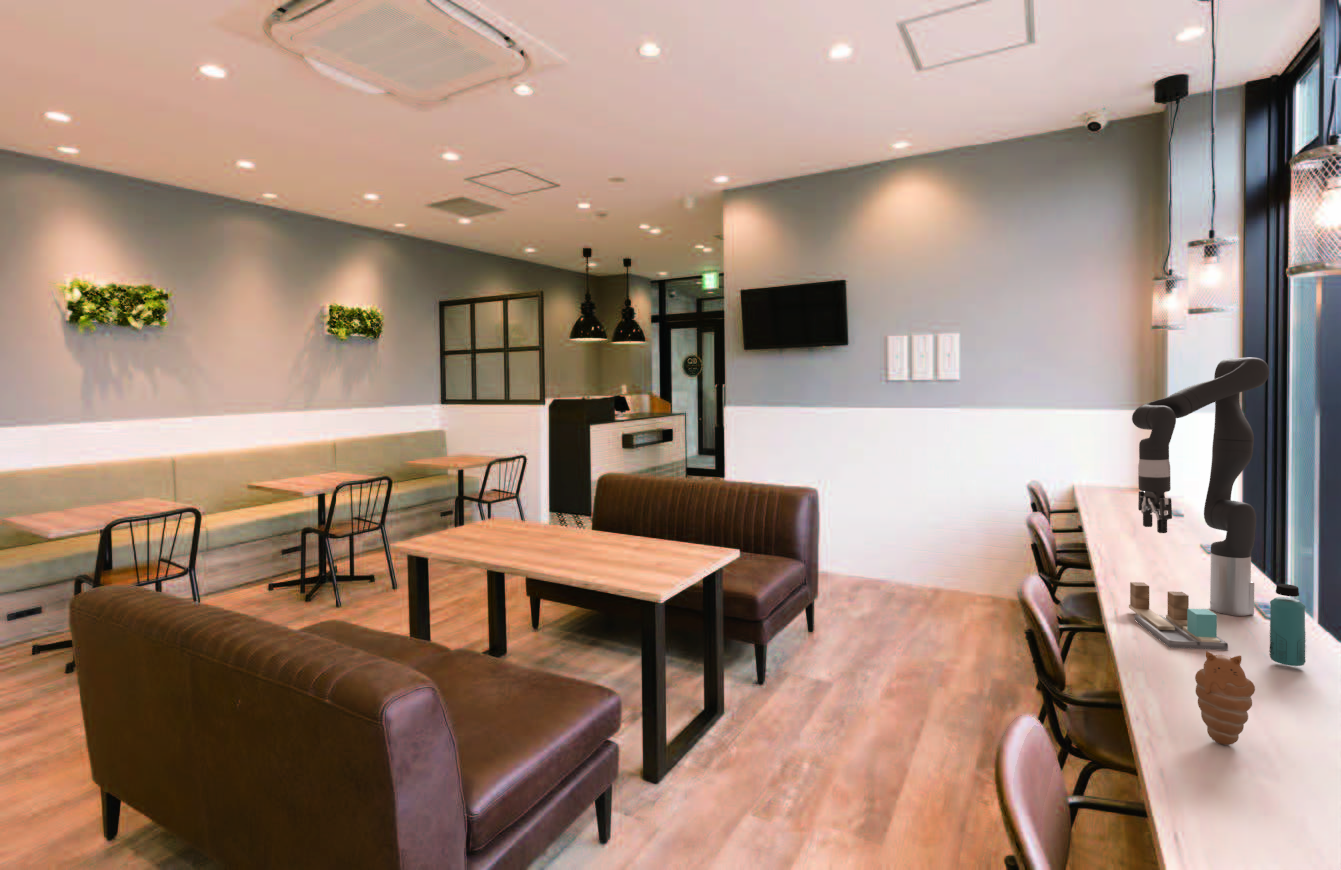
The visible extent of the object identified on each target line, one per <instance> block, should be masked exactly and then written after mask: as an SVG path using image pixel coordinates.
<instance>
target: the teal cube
mask: <svg viewBox="0 0 1341 870" xmlns="http://www.w3.org/2000/svg"><path fill="white" fill-rule="evenodd" d="M1217 627H1218V615H1217V614H1216V613H1215V612H1214V611H1212V610H1209V609H1206V608H1205V609H1204V608H1189V609H1187V631H1189V632H1190V633H1192V634H1193V635H1195V636H1196V637H1218V636H1217V635H1218V634H1217V632H1218V628H1217Z"/></svg>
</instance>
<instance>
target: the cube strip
mask: <svg viewBox="0 0 1341 870" xmlns="http://www.w3.org/2000/svg"><path fill="white" fill-rule="evenodd" d="M1129 589H1130V590H1129V591H1130V592H1129V593H1130V595H1129V597H1130V598H1129V599H1130V600H1129V603H1130V604H1128V608H1129V609H1130V610H1131V611H1133V612H1134V613H1135V614H1138V615H1139V616H1140V617H1142V618H1143V619H1145V620H1146V621H1147V622H1149V623H1150V624H1151V625H1153V626H1154V627H1155V628H1157V629H1158V630H1175V626H1173V625H1172V624H1170V623H1169V622H1167V621H1166V620H1165V619H1163V618H1162V617H1160V616H1159V615H1160V614H1158V613H1156V612H1155V611H1153V610H1152V609H1150V585H1149V584H1147V583H1146V582H1140V581H1139V582H1138V581H1137V582H1136V581H1135V582H1132V581H1130V583H1129Z"/></svg>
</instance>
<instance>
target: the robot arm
mask: <svg viewBox="0 0 1341 870" xmlns="http://www.w3.org/2000/svg"><path fill="white" fill-rule="evenodd" d="M1269 375H1270V369H1269V365H1268V363H1267V362H1266V361H1265V360H1263V359H1262V358H1259V357H1251V356H1250V357H1235V358H1234V357H1232V358H1226V359H1223V360H1221V361H1220V362H1219V363H1218V364H1217V366H1216V367H1215V371H1214V378H1213V379H1211V380H1207V381H1203V382H1199V383H1197V384H1192V385H1191V386H1187V387H1185V388H1183V389H1181V390H1179V391H1177V392H1174V393H1173V394H1170V395H1168V396H1167V397H1164V398H1160V399H1156V400H1153V401H1150V402H1147V403H1145V404H1142V405H1140V406H1139V407H1137V408H1136V409H1135V410H1134V411H1133V413H1132V415H1131V421H1132V423H1133V425H1134V426H1135V427H1137V428H1138V429H1140V430H1148V431H1149V430H1151V432H1150V435H1149V437H1146V438H1142V439H1141V440H1140V441H1139V444H1138V447H1139V448H1138V449H1139V450H1138V458H1139V459H1138V467H1137V468H1138V472H1137V474H1138V476H1137V477H1138V481H1137V482H1138V490H1139V491H1138V504H1137V505H1138V511H1140V513H1141V515H1142V526H1143V527H1144V528H1152V527H1153V514H1155V516H1156V530H1157V533H1159V534H1166V533H1168V520H1171V519H1173V510H1172V509H1173V508H1172V498H1171V497H1165V493H1167V492H1170V491H1171V462H1170V443H1171V440H1172V437H1173V434H1174V431H1175V427H1176V422H1177V419H1180V418H1184V417H1186V416H1189V415H1190V414H1192V413H1194V412H1195V413H1196V411H1198V410H1200V409H1202V408H1204V407H1207V406H1209V405H1212V404H1215V405H1214V406H1215V409H1214V411H1215V412H1214V427H1213V438H1212V439H1213V440H1212V448H1211V450H1212V452H1211V465H1210V473H1209V474H1210V476H1209V482H1208V487H1207V491H1206V496H1205V502H1204V507H1203V518H1204V522H1205V524H1206V525H1207V526H1208V527H1210V528H1211V529H1215V530H1217V531H1224V532H1225V533H1226V535H1225V538H1224V540H1219V541H1215V542H1214V541H1213V542H1212V543H1211V545H1210V576H1209V577H1210V579H1209V580H1210V583H1209V584H1210V588H1209V589H1210V592H1209V593H1210V596H1209V597H1210V599H1209V608H1210V611H1212V612H1214V613H1219V614H1222V615H1228V616H1238V617H1239V616H1240V617H1241V616H1242V617H1243V616H1249V615H1250V616H1251V615H1255V582H1253V581H1252V579H1251V578H1252V566H1251V565H1252V551H1253V548H1254V546H1255V541H1256V540H1255V539H1256V527H1257V514H1256V510H1255V508H1254V507H1253V506H1252V505H1251V504H1250V503H1247V502H1242V501H1238V500H1237V501H1236V500H1232V491H1233V486H1234V485H1235V484H1234V483H1235V481H1236V479H1237V478H1238V477H1239V476H1240V475H1241V474H1242V472H1243V471H1244V470H1245V468H1246V467H1248V465H1249V464H1250V462H1251V460H1252V458H1253V453H1254V442H1255V436H1254V431H1253V429H1252V427H1251V424H1250V423H1249V421H1248V419H1247V418H1246V417H1245V415H1244V413H1243V411H1242V408H1241V404H1240V401H1241V400H1240V398H1241V397H1240V396H1241V393H1243V392H1246V391H1250V390H1253V389H1257V388H1259V387H1261V386H1263V385H1264V384H1265V383H1266V382H1267V381H1268V378H1269Z"/></svg>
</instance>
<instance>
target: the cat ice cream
mask: <svg viewBox="0 0 1341 870" xmlns="http://www.w3.org/2000/svg"><path fill="white" fill-rule="evenodd" d="M1205 657H1206V660H1205V661H1204V663H1203V666H1202V667H1203V668H1201V669H1199V670H1197V672H1196V673H1195V675H1194V680H1195V682H1196V686H1195V694H1196V697H1197V705H1198V707H1199V709H1200V716H1201V719H1202V721H1203V723H1204V724H1205V726H1207V727H1206V731H1207V734H1208V736H1209V738H1211V740H1213V741H1214V742H1215V743H1217V744H1220V745H1223V746H1226V745H1228V746H1230V745H1233V744H1236V743H1237V742H1238V740H1239V738H1240V737H1239V736H1240V734H1241V733H1242V732H1243V730H1244V724H1247V722H1248V720H1249V713H1248V711H1250V709H1251V708H1252V707H1253V700H1252V696H1253V695H1254V694H1255V691H1256V686H1255V684H1254V682H1252V681H1251V680H1250V679H1249V678H1248V677H1246V673H1245V671H1244V670H1243V668H1242V666H1241V663H1242V655H1235V656H1233V657H1230V656H1228V655H1223V654H1213V653H1211V652H1210V651H1207V650H1206V651H1205Z"/></svg>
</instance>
